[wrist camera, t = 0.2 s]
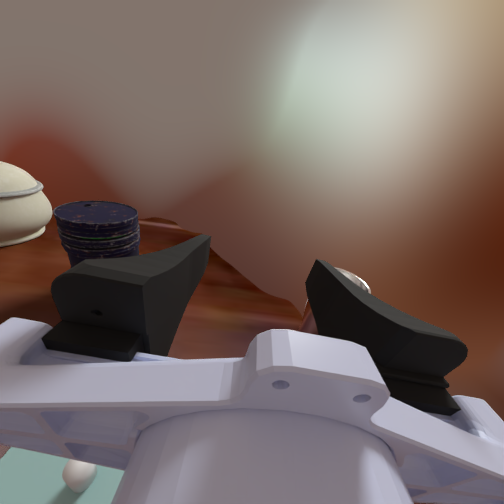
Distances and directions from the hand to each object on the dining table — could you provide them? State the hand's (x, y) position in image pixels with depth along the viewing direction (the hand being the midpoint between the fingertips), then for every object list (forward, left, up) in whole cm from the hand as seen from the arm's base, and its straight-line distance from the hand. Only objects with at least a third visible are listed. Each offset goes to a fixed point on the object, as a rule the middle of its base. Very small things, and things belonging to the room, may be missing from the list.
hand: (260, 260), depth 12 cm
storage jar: (+16, +23, -21) cm, 35 cm away
